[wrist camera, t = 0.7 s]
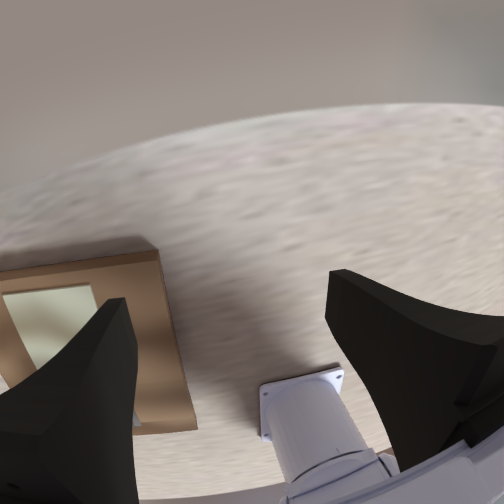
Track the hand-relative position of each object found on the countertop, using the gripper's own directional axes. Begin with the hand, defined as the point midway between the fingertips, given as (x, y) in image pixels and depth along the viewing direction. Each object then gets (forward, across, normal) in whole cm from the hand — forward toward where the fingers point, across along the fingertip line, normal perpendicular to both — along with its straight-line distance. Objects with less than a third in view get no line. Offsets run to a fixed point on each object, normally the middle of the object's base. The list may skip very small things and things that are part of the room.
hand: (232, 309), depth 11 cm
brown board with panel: (+10, +11, +10) cm, 18 cm away
